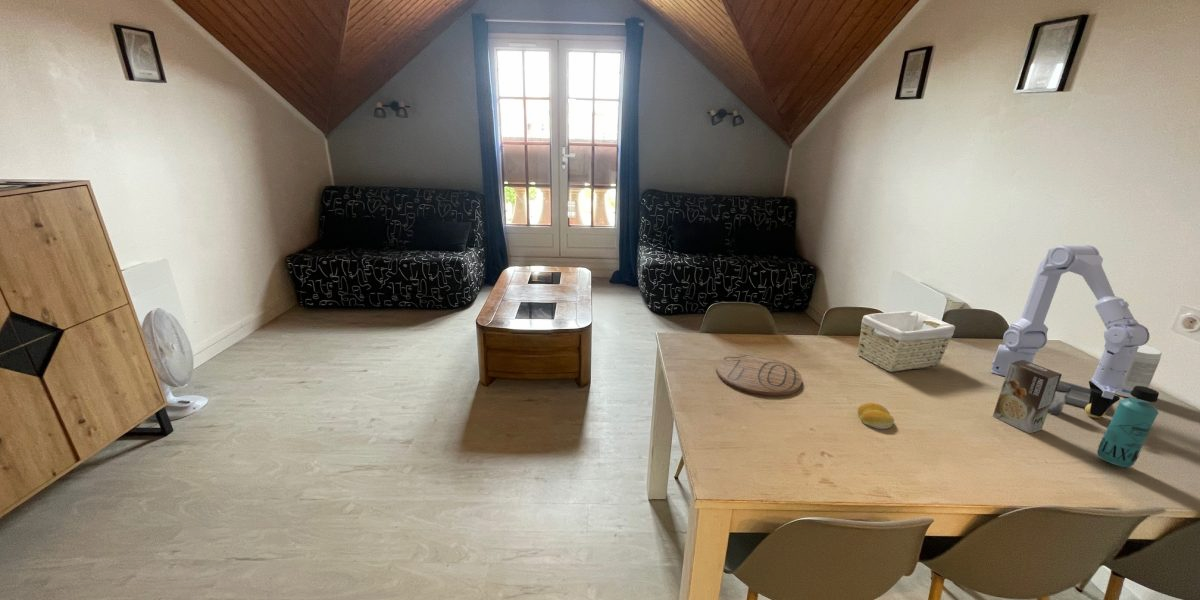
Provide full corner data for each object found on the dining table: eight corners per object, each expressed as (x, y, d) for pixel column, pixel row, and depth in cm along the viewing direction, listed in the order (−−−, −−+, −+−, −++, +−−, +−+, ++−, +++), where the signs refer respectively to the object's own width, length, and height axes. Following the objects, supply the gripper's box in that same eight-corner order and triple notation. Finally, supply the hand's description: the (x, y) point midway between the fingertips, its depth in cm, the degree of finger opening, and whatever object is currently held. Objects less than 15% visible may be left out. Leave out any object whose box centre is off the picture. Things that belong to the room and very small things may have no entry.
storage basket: (904, 347, 178) (914, 308, 173) (946, 367, 164) (959, 326, 159) (851, 354, 171) (860, 314, 166) (891, 376, 156) (902, 332, 151)
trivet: (709, 386, 146) (709, 380, 145) (722, 353, 168) (723, 348, 167) (800, 405, 137) (801, 399, 137) (801, 368, 159) (802, 363, 159)
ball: (1083, 417, 137) (1088, 404, 136) (1082, 411, 140) (1087, 398, 139) (1103, 422, 135) (1108, 409, 133) (1101, 416, 138) (1107, 404, 136)
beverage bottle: (1085, 455, 120) (1117, 381, 113) (1110, 455, 121) (1143, 381, 114) (1114, 473, 114) (1149, 396, 107) (1140, 473, 114) (1177, 396, 108)
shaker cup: (1038, 410, 140) (1048, 384, 137) (1038, 404, 143) (1048, 378, 140) (1061, 417, 137) (1072, 390, 134) (1061, 410, 140) (1071, 384, 137)
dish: (1049, 398, 146) (1051, 392, 146) (1049, 384, 155) (1051, 378, 154) (1105, 413, 139) (1108, 407, 139) (1101, 397, 148) (1104, 391, 147)
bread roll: (863, 428, 128) (867, 414, 126) (853, 410, 136) (856, 397, 135) (898, 432, 127) (902, 419, 125) (885, 414, 135) (889, 401, 134)
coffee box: (1043, 429, 130) (1064, 374, 125) (1029, 434, 128) (1050, 378, 123) (1005, 411, 138) (1023, 359, 133) (990, 415, 136) (1008, 362, 130)
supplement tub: (1147, 394, 151) (1167, 350, 146) (1139, 402, 146) (1159, 357, 141) (1104, 381, 159) (1122, 338, 154) (1095, 388, 154) (1113, 344, 149)
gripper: (1138, 381, 125) (1117, 428, 129) (1130, 363, 135) (1111, 406, 140) (1100, 372, 129) (1081, 418, 133) (1095, 355, 139) (1078, 397, 144)
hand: (1094, 411), depth 137 cm, fingers closed on ball, 4 cm apart
